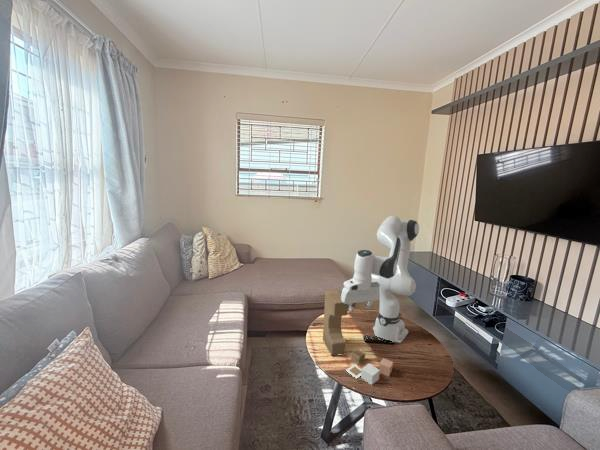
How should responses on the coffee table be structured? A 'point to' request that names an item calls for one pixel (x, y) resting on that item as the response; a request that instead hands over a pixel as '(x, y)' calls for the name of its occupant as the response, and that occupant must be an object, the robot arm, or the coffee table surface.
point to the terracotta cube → (385, 367)
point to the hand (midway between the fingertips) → (359, 309)
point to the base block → (370, 374)
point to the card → (354, 371)
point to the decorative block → (334, 322)
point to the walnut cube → (358, 357)
